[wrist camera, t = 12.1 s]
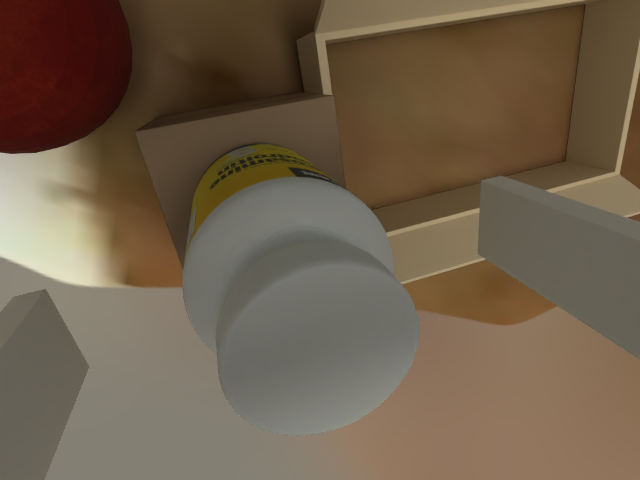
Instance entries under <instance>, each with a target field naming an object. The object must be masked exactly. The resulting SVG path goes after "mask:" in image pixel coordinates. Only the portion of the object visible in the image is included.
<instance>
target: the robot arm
mask: <svg viewBox="0 0 640 480" xmlns="http://www.w3.org/2000/svg"><path fill="white" fill-rule="evenodd" d="M478 254H479V255H480V256H482V257H483V258H485V259H486V260H488V261H489V262H491V263H492V264H494V265H495V266H497V267H499V268H500V269H502V270H503V271H505V272H506V273H508V274H509V275H511V276H512V277H514V278H515V279H517V280H518V281H520V282H522V283H523V284H525V285H526V286H528V287H529V288H531V289H532V290H534V291H535V292H537V293H538V294H540V295H542V296H543V297H545V298H546V299H548V300H549V301H551V302H552V303H554V304H555V305H557V306H558V307H560V308H562V309H563V310H565V311H566V312H568V313H569V314H571V315H572V316H574V317H575V318H577V319H578V320H580V321H581V322H583V323H585V324H586V325H588V326H589V327H591V328H592V329H594V330H595V331H597V332H598V333H600V334H602V335H603V336H604V337H606V338H608V339H609V340H611V341H612V342H614V343H615V344H617V345H618V346H620V347H621V348H623V349H625V350H626V351H627V352H629V353H631V354H632V355H634V356H635V357H637V358H638V359H640V222H638V221H635V220H632V219H629V218H626V217H623V216H620V215H617V214H614V213H611V212H608V211H605V210H602V209H599V208H596V207H593V206H590V205H587V204H584V203H581V202H578V201H575V200H572V199H569V198H566V197H563V196H560V195H557V194H554V193H551V192H548V191H545V190H542V189H539V188H536V187H534V186H531V185H528V184H525V183H522V182H519V181H516V180H513V179H510V178H507V177H504V176H497V177H493V178H489V179H485V180H481V189H480V211H479V233H478ZM88 368H89V366H88V364H87V362H86V360H85V358H84V357H83V355H82V353H81V351H80V349H79V348H78V346H77V344H76V342H75V341H74V339H73V337H72V335H71V333H70V331H69V330H68V328H67V326H66V324H65V323H64V321H63V319H62V317H61V315H60V314H59V312H58V310H57V308H56V307H55V305H54V303H53V301H52V299H51V298H50V296H49V294H48V292H47V290H46V289H43V290H39V291H35V292H31V293H27V294H23V295H19V296H15V297H13V298H12V299H11V300H10V301H9V303H8V304H7V305H6V306H5V307H4V308H3V310H2V311H1V312H0V480H44V479H45V476H46V474H47V471H48V469H49V466H50V464H51V462H52V459H53V457H54V454H55V452H56V449H57V446H58V444H59V441H60V439H61V436H62V434H63V431H64V429H65V426H66V424H67V421H68V419H69V416H70V414H71V411H72V409H73V406H74V404H75V401H76V398H77V396H78V394H79V391H80V389H81V386H82V384H83V381H84V378H85V376H86V373H87V371H88Z"/></svg>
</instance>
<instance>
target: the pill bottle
mask: <svg viewBox="0 0 640 480" xmlns="http://www.w3.org/2000/svg"><path fill="white" fill-rule="evenodd" d="M183 298H184V303H185V307H186V311H187V313H188V317H189V319H190V321H191V323H192V325H193V327H194V329H195V331H196V332H197V334H198V335H199V337H200V338H201V339H202V341H203V342H204V343H205V344H206V345H207V346H208V347H209V348H210V349H211V350H212V351H213V352H215V353H216V354H217V363H218V373H219V380H220V383H221V387H222V390H223V392H224V394H225V397H226V399H227V400H228V402H229V403H230V405H231V406H232V407H233V409H234V410H235V411H236V412H237V413H238V414H239V415H240V416H241V417H242V418H244V419H245V420H246V421H248V422H250V423H251V424H252V425H254V426H256V427H258V428H260V429H263V430H265V431H269V432H272V433H276V434H282V435H295V436H299V435H313V434H320V433H324V432H328V431H331V430H335V429H338V428H341V427H343V426H346V425H348V424H351V423H352V422H354V421H356V420H358V419H360V418H362V417H364V416H365V415H367V414H368V413H370V412H371V411H372V410H374V409H375V408H376V407H377V406H379V405H380V404H381V403H382V402H383V401H384V400H385V399H386V398H388V396H390V395H391V393H392V392H393V391H394V390H395V389H396V388H397V386H398V385H399V384H400V382H401V381H402V380H403V379H404V377H405V376H406V374H407V372H408V371H409V369H410V367H411V364H412V362H413V359H414V357H415V354H416V350H417V346H418V341H419V320H418V316H417V312H416V308H415V306H414V303H413V301H412V299H411V296H410V295H409V293H408V292H407V291H406V289H405V288H404V287H403V286H402V284H401V283H400V282H399V281H398V280H397V279H396V278H395V277H394V263H393V254H392V249H391V246H390V242H389V239H388V237H387V234H386V232H385V230H384V228H383V226H382V224H381V223H380V221H379V220H378V218H377V217H376V215H375V214H374V213H373V212H372V211H371V210H370V209H369V208H368V207H367V205H366V204H365V203H364V202H363V201H361V200H360V199H359V198H357V197H356V196H355V195H354V194H352V193H351V192H350V191H348V190H347V189H346V188H344V187H343V186H341V185H340V184H339V183H338V182H337V181H335V180H334V179H333V178H331V177H330V176H328V175H327V174H326V173H324V172H323V171H322V170H320V169H319V168H318V167H316V166H315V165H314V164H312V163H311V162H310V161H308V160H307V159H306V158H304V157H303V156H302V155H300V154H298V153H297V152H295V151H293V150H291V149H289V148H286V147H283V146H280V145H276V144H270V143H253V144H246V145H243V146H239V147H237V148H234V149H232V150H230V151H228V152H226V153H224V154H223V155H221V156H220V157H218V158H217V159H216V160H215V161H214V162H213V163H212V164H211V165H210V166H209V167H208V168H207V169H206V171H205V172H204V173H203V175H202V177H201V179H200V181H199V183H198V185H197V188H196V190H195V194H194V198H193V203H192V211H191V217H190V224H189V231H188V239H187V246H186V253H185V260H184V267H183Z"/></svg>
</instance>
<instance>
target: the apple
mask: <svg viewBox="0 0 640 480" xmlns="http://www.w3.org/2000/svg"><path fill="white" fill-rule="evenodd" d="M131 72H132V46H131V40H130V34H129V28H128V24H127V22H126V19H125V16H124V14H123V11H122V8H121V6H120V3H119V1H118V0H0V152H1V153H9V154H18V153H37V152H41V151H45V150H50V149H54V148H58V147H61V146H65V145H68V144H70V143H72V142H74V141H76V140H79V139H81V138H83V137H85V136H87V135H88V134H90V133H91V132H93V131H94V130H95V129H97V128H98V127H99V126H101V125H102V124H103V123H104V122H105V121H106V120H107V119H108V118H109V117H110V115H111V114H112V113H113V112H114V111H115V110H116V109H117V107H118V106H119V104H120V102H121V100H122V98H123V96H124V95H125V93H126V91H127V88H128V84H129V80H130V76H131Z"/></svg>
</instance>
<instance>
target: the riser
mask: <svg viewBox="0 0 640 480" xmlns="http://www.w3.org/2000/svg"><path fill="white" fill-rule="evenodd" d="M135 135H136V138H137V140H138V143H139V146H140V149H141V152H142V155H143V157H144V160H145V163H146V166H147V169H148V172H149V174H150V177H151V180H152V183H153V186H154V189H155V192H156V194H157V197H158V200H159V203H160V206H161V209H162V211H163V214H164V217H165V220H166V223H167V226H168V228H169V231H170V234H171V237H172V240H173V243H174V245H175V248H176V251H177V254H178V257H179V260H180V262H181V265H182V268H183V267H184V260H185V253H186V246H187V239H188V231H189V224H190V217H191V211H192V203H193V198H194V194H195V190H196V188H197V185H198V183H199V181H200V179H201V177H202V175H203V173H204V172H205V171H206V169H207V168H208V167H209V166H210V165H211V164H212V163H213V162H214V161H215V160H216V159H217V158H218V157H220V156H221V155H223V154H224V153H226V152H228V151H230V150H232V149H234V148H237V147H239V146H243V145H246V144H253V143H270V144H276V145H280V146H283V147H286V148H289V149H291V150H293V151H295V152H297V153H298V154H300V155H302V156H303V157H304V158H306V159H307V160H308V161H310V162H311V163H312V164H314V165H315V166H316V167H318V168H319V169H320V170H322V171H323V172H324V173H326V174H327V175H328V176H330V177H331V178H333V179H334V180H335V181H337V182H338V183H339V184H340V185H341V186H343V187H344V188H346V186H345V178H344V170H343V163H342V155H341V147H340V139H339V131H338V123H337V115H336V107H335V100H334V95H326V94H313V93H301V92H295V93H290V94H284V95H278V96H273V97H267V98H262V99H256V100H251V101H245V102H239V103H234V104H228V105H223V106H217V107H212V108H206V109H200V110H195V111H189V112H184V113H178V114H173V115H167V116H161V117H156V118H155V119H153V120H152V121H150V122H149V123H147V124H146V125H144V126H143V127H141V128H140V129H138V130H137V131H135Z"/></svg>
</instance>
